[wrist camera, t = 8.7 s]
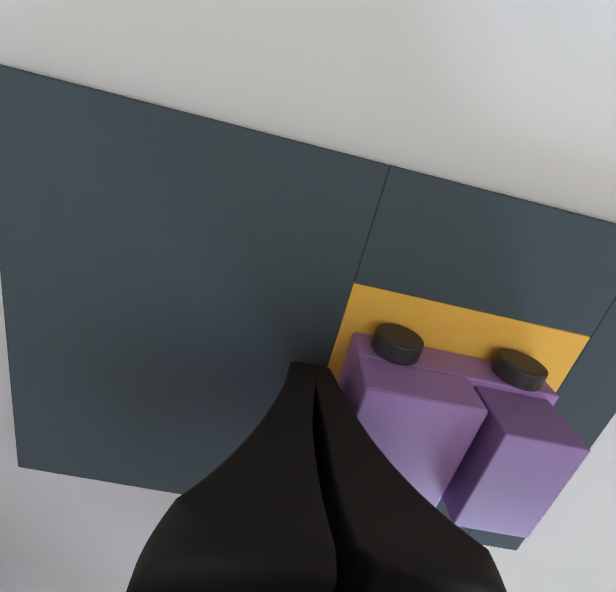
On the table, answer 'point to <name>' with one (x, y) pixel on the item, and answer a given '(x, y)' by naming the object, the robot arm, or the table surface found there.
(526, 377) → the toy truck
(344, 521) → the robot arm
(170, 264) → the play mat
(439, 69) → the table surface
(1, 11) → the table surface
